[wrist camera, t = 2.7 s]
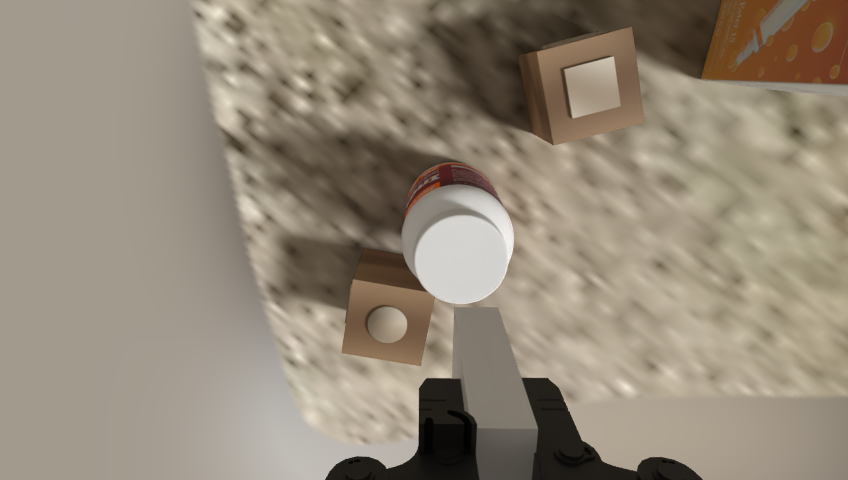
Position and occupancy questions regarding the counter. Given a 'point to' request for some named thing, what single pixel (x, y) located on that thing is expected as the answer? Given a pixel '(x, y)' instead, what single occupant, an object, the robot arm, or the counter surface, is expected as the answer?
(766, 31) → the small box
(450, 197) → the pill bottle
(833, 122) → the counter surface
